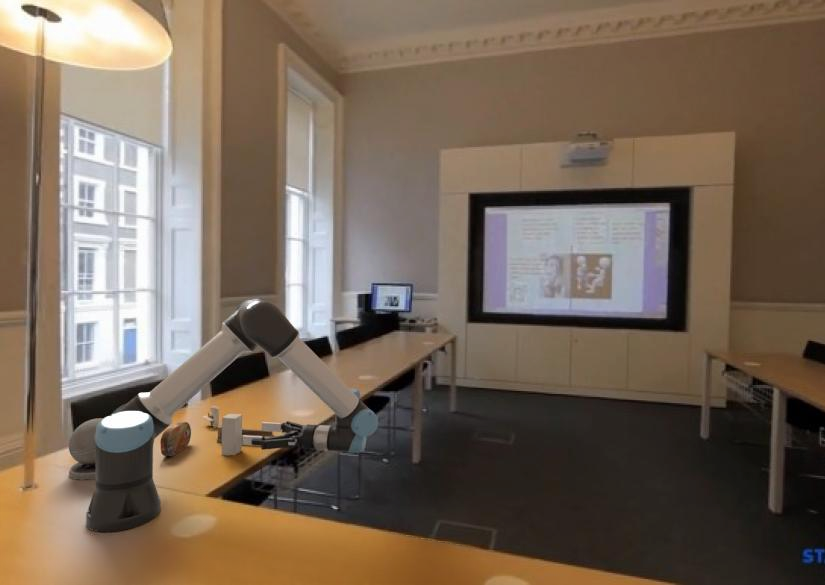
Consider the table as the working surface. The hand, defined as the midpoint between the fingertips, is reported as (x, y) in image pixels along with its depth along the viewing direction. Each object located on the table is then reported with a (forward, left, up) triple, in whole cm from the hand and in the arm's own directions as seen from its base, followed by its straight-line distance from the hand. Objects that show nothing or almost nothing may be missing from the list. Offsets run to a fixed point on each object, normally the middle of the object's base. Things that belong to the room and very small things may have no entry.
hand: (252, 432), depth 154 cm
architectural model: (+24, +27, -8) cm, 37 cm away
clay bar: (0, +7, -7) cm, 10 cm away
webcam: (-20, +38, -7) cm, 44 cm away
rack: (+12, +8, -7) cm, 16 cm away
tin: (-2, +25, -7) cm, 26 cm away
